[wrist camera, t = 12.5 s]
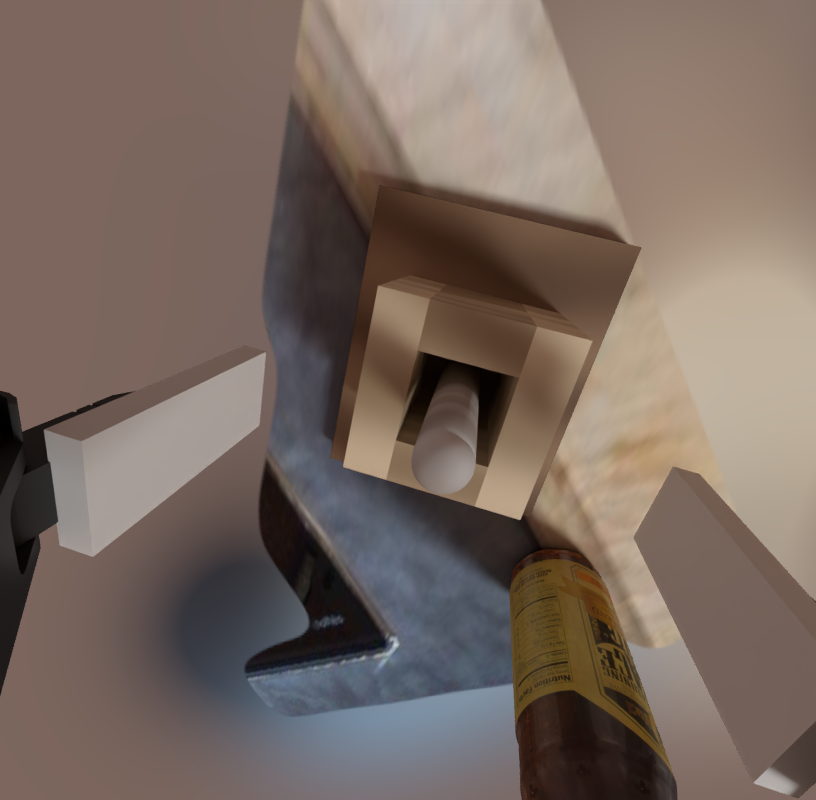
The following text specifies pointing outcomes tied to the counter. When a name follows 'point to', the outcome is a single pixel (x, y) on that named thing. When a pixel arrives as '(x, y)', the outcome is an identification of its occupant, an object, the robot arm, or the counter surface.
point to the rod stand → (488, 274)
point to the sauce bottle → (578, 689)
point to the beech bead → (475, 345)
